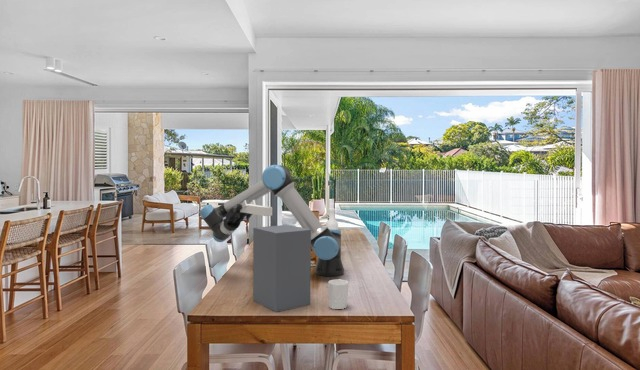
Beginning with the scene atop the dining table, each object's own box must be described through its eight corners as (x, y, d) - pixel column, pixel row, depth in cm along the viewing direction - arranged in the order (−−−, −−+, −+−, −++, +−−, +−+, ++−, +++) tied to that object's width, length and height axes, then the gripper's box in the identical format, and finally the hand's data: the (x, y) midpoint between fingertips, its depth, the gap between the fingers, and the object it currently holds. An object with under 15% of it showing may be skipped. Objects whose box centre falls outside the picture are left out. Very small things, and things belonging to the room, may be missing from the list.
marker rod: (236, 211, 199) (236, 203, 199) (243, 210, 201) (243, 203, 201) (264, 216, 178) (264, 207, 178) (272, 215, 180) (272, 207, 180)
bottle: (340, 256, 266) (340, 208, 265) (329, 257, 262) (330, 208, 261) (333, 254, 273) (333, 207, 272) (322, 255, 269) (323, 207, 268)
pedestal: (253, 300, 175) (253, 227, 174) (286, 293, 185) (286, 224, 184) (275, 312, 161) (276, 233, 160) (310, 304, 170) (310, 229, 169)
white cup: (326, 304, 171) (327, 279, 171) (346, 303, 172) (346, 279, 171) (329, 310, 163) (329, 284, 163) (349, 310, 164) (349, 284, 164)
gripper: (247, 229, 212) (268, 209, 196) (215, 232, 202) (235, 211, 185) (244, 216, 215) (264, 194, 198) (212, 218, 205) (231, 195, 188)
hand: (250, 202), depth 192 cm, fingers closed on marker rod, 4 cm apart
